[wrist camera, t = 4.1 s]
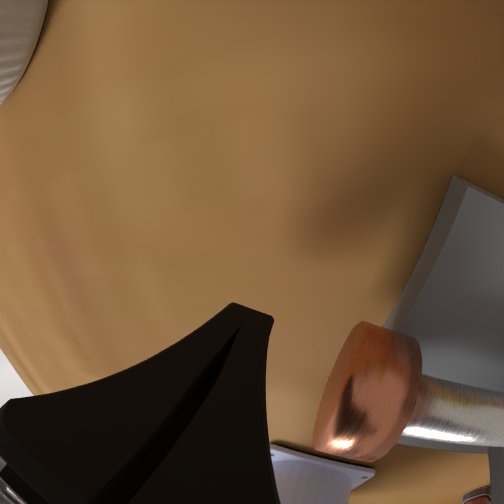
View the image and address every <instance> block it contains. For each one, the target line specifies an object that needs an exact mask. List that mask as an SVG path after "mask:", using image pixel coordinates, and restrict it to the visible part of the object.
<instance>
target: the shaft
mask: <svg viewBox="0 0 504 504" xmlns="http://www.w3.org/2000/svg"><path fill="white" fill-rule="evenodd" d="M401 435H402V436H407V437H413V438H419V439H426V440H432V441H440V442H448V443H456V444H466V445H478V446H494V447H504V392H499V391H494V390H489V389H484V388H479V387H475V386H470V385H466V384H461V383H457V382H452V381H448V380H444V379H440V378H436V377H432V376H428V375H424V374H422V353H421V348H420V346H419V343H418V341H417V340H416V339H415V338H414V337H412V336H409V335H406V334H403V333H400V332H396V331H393V330H390V329H387V328H383V327H380V326H377V325H374V324H371V323H368V322H364V321H361V322H359V323H358V324H357V325H356V326H355V327H354V328H353V330H352V331H351V333H350V334H349V336H348V338H347V339H346V341H345V343H344V345H343V347H342V349H341V351H340V353H339V355H338V358H337V360H336V362H335V365H334V367H333V369H332V372H331V374H330V377H329V380H328V382H327V385H326V388H325V391H324V394H323V397H322V400H321V403H320V406H319V410H318V413H317V417H316V421H315V426H314V431H313V447H314V449H315V450H316V451H320V452H324V453H328V454H332V455H336V456H341V457H345V458H350V459H355V460H359V461H365V462H374V461H377V460H379V459H380V458H382V457H383V456H384V455H385V454H387V453H388V452H389V451H390V449H391V448H392V447H393V446H394V445H395V443H396V442H397V441H398V439H399V438H400V436H401Z"/></svg>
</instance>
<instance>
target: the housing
mask: <svg viewBox="0 0 504 504" xmlns="http://www.w3.org/2000/svg"><path fill="white" fill-rule="evenodd" d="M383 328H387V329H390V330H393V331H396V332H400V333H403V334H406V335H409V336H412V337H414V338H415V339H416V340H417V341H418V343H419V346H420V348H421V353H422V374H424V375H428V376H432V377H436V378H440V379H444V380H448V381H452V382H457V383H461V384H466V385H470V386H475V387H479V388H484V389H489V390H494V391H499V392H504V199H502V198H500V197H499V196H497V195H495V194H493V193H491V192H489V191H487V190H485V189H483V188H481V187H479V186H477V185H475V184H473V183H471V182H469V181H467V180H464V179H462V178H460V177H458V176H456V175H454V174H453V176H452V179H451V181H450V184H449V187H448V190H447V193H446V195H445V198H444V201H443V203H442V206H441V208H440V211H439V213H438V216H437V218H436V221H435V223H434V226H433V228H432V230H431V233H430V235H429V237H428V240H427V242H426V244H425V247H424V249H423V251H422V253H421V255H420V257H419V260H418V262H417V264H416V266H415V268H414V270H413V272H412V274H411V276H410V278H409V280H408V282H407V284H406V286H405V288H404V290H403V292H402V294H401V296H400V298H399V300H398V302H397V303H396V305H395V307H394V309H393V311H392V313H391V314H390V316H389V318H388V320H387V321H386V323H385V325H384V327H383ZM396 443H397V444H402V445H408V446H415V447H422V448H429V449H437V450H446V451H456V452H468V453H486V454H488V456H489V468H490V484H491V504H504V447H494V446H478V445H466V444H456V443H448V442H440V441H432V440H426V439H419V438H413V437H407V436H402V435H401V436H400V438H399V439H398V441H397V442H396Z"/></svg>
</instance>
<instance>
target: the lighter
mask: <svg viewBox="0 0 504 504" xmlns="http://www.w3.org/2000/svg"><path fill="white" fill-rule="evenodd" d="M462 504H491V490H490V489H489V488H488V487H483V488H478V489H475V490H472V491H470V492H468V493H466V494H464V495H463V498H462Z"/></svg>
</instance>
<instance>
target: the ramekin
mask: <svg viewBox="0 0 504 504" xmlns="http://www.w3.org/2000/svg"><path fill="white" fill-rule="evenodd" d="M48 1H49V0H0V105H1V103H2V102H3V101H4V100H5V99H6V98H7V97H8V96H9V95H10V93H11V92H12V91H13V90H14V88H15V87H16V86H17V84H18V82H19V81H20V79H21V77H22V75H23V74H24V72H25V70H26V68H27V66H28V63H29V61H30V59H31V56H32V54H33V52H34V49H35V47H36V44H37V41H38V38H39V35H40V32H41V28H42V25H43V22H44V18H45V14H46V10H47V6H48Z"/></svg>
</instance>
